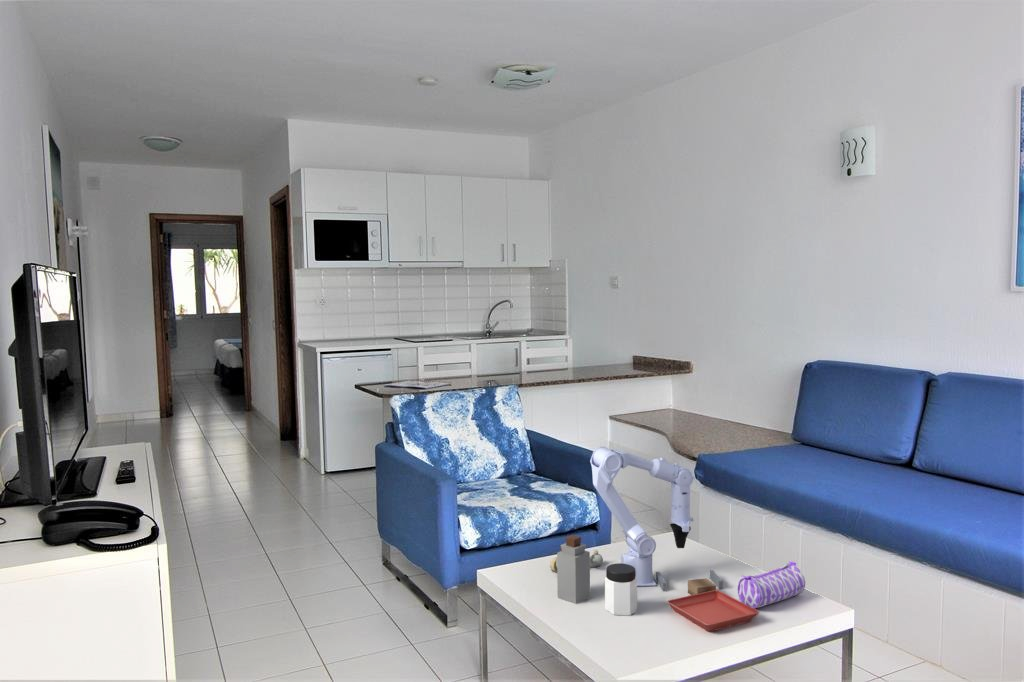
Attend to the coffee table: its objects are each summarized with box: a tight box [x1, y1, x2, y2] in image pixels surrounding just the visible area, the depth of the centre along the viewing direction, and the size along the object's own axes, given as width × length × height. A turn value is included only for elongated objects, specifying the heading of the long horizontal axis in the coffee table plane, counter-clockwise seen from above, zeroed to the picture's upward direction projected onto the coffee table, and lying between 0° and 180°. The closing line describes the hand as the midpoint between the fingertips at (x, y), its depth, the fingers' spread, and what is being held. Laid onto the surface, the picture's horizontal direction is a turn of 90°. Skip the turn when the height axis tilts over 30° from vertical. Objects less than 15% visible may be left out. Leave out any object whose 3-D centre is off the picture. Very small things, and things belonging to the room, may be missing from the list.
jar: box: [604, 562, 638, 617], centre depth 217 cm, size 9×8×12 cm
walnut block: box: [687, 577, 717, 596], centre depth 227 cm, size 6×6×4 cm
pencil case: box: [737, 561, 806, 609], centre depth 222 cm, size 22×9×10 cm, turn 126°
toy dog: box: [549, 547, 604, 573], centre depth 248 cm, size 12×19×9 cm, turn 144°
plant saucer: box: [666, 589, 760, 632], centre depth 212 cm, size 18×18×3 cm
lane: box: [655, 569, 723, 592], centre depth 235 cm, size 18×9×2 cm, turn 93°
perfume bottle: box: [556, 534, 591, 605], centre depth 226 cm, size 7×7×18 cm
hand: (680, 547), depth 241 cm, fingers closed
